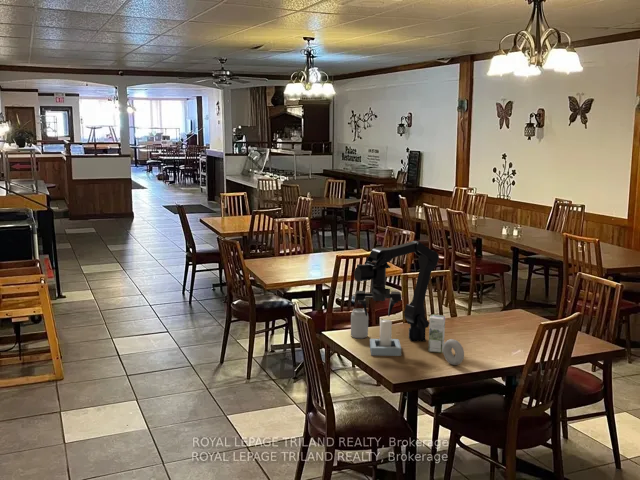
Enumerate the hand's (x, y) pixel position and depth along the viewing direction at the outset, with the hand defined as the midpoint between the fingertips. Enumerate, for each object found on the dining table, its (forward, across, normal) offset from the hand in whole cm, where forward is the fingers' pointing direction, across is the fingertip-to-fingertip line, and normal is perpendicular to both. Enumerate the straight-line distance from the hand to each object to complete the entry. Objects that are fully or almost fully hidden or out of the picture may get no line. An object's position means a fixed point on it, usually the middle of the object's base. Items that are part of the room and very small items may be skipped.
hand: (377, 316), depth 262 cm
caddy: (+13, +3, -5) cm, 14 cm away
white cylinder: (+13, +3, -5) cm, 14 cm away
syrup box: (+13, +24, -4) cm, 28 cm away
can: (+13, -7, +13) cm, 20 cm away
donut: (+13, +28, -20) cm, 37 cm away
